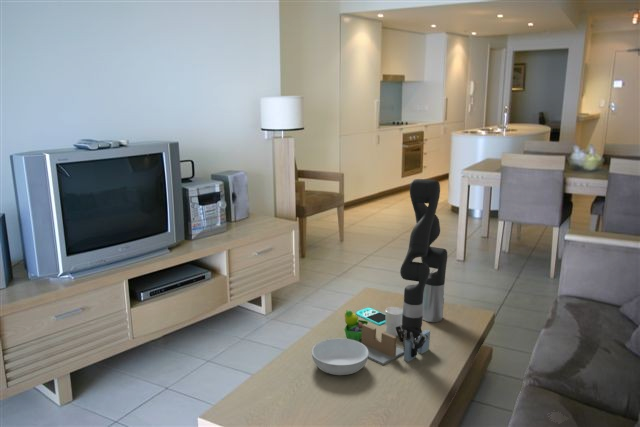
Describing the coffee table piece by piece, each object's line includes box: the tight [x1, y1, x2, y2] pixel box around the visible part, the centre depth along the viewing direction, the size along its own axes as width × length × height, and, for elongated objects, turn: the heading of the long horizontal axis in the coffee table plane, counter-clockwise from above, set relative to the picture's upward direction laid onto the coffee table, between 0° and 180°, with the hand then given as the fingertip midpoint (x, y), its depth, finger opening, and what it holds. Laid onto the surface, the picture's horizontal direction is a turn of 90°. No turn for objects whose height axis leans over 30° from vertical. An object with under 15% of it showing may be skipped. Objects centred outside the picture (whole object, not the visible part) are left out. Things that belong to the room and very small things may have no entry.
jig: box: [360, 324, 404, 366], centre depth 204 cm, size 14×16×9 cm
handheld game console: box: [355, 307, 386, 326], centre depth 237 cm, size 10×16×1 cm, turn 40°
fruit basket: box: [343, 309, 369, 342], centre depth 216 cm, size 11×9×11 cm
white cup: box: [384, 306, 403, 337], centre depth 221 cm, size 8×8×10 cm
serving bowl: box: [311, 337, 369, 376], centre depth 192 cm, size 21×21×7 cm
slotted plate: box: [403, 329, 431, 362], centre depth 202 cm, size 14×2×8 cm, turn 135°
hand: (410, 354), depth 200 cm, fingers open, 2 cm apart
